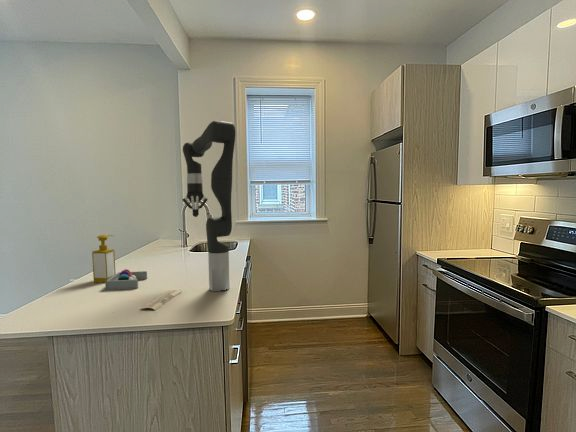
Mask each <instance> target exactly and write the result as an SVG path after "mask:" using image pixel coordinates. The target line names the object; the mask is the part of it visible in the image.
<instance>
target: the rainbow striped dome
mask: <svg viewBox="0 0 576 432" xmlns="http://www.w3.org/2000/svg"><path fill="white" fill-rule="evenodd" d="M131 272H132V271H130V269H127V268H125V269H123V270H121V271H120V276H119V277H118V278H116V279H115V280H136V276H134V275H132V273H131Z"/></svg>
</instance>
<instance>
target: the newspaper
mask: <svg viewBox="0 0 576 432" xmlns="http://www.w3.org/2000/svg"><path fill="white" fill-rule="evenodd" d="M181 293H182V291H181V290H178V289H170V290H168V291H167V292H165V293H163V294H162V295H160V296H158V297H157V298H155V299H154V300H152V301H150V302H148V304H146V305H144V306H142V308H140V311H143V310H144V309H153V310H154V311H157V310H158V309H159V308H160V307H162V306H164V305H166V304H167V303H168V302H170V301H171V300H172V299H174V298H175V297H177V296H178V295H180V294H181Z"/></svg>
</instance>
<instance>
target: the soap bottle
mask: <svg viewBox="0 0 576 432" xmlns="http://www.w3.org/2000/svg"><path fill="white" fill-rule="evenodd" d="M109 237H114V234H100V235H98V236H96V238H97V239H98V241H99V242H100V244H99V246H98V249H97V250H93V251H92V252H91V254H92V255H91V257H92V273H93V274H92V275H93V283H100V284H101V283H104V284H105V281H107V280H108V279H110V278H111V277H112V276H114V275H115V274H117V272H116V257H115V256H116V254H115V249H114V248H109V249H108V245H107V244H106V241H108V238H109Z"/></svg>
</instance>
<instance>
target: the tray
mask: <svg viewBox="0 0 576 432" xmlns="http://www.w3.org/2000/svg"><path fill="white" fill-rule="evenodd" d="M120 272H121V271H120ZM120 272H119V271H118V272H116V274H115V275H114V276H112V277H111V278H110V279H108V280H107V281H105V283H104V284H105V291H112V290H113V291H115V290H129V289H131V290H133V289H138V288H139V280H147V279H148V271H145V270H139V271H130V272H131V273H132V275H134V276H136V280H115V279H116V278H118V277H119V276H120Z"/></svg>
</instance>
